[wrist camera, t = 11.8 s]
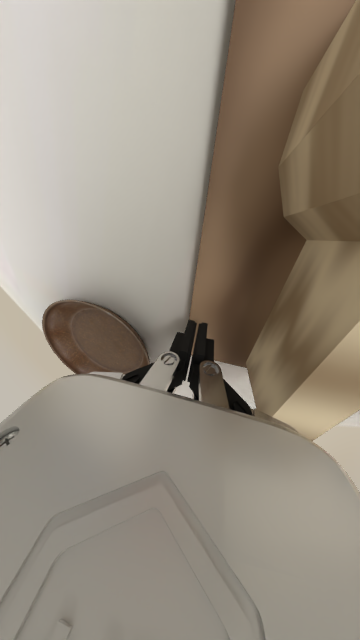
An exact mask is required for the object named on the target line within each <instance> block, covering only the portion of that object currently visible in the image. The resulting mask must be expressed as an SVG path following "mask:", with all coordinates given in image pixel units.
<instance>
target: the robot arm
mask: <svg viewBox="0 0 360 640" xmlns="http://www.w3.org/2000/svg"><path fill="white" fill-rule="evenodd" d="M196 326H197V323H195V321H193V320H189V321H188V324H187V327H186V330H185V333H180V332H177V334H176V336H175V339H174V341H173V343H172V346H171V348H170V351H167V352H164V353H162V354H161V355H160V356H159V357H158V359H157V360H156V362H154V363H151V364H149V365H146V366H144V367H141V368H139V369H136V370H133V371H131V372H129V373H127V374H123V373H115V372H91V373H88V374H75V375H74V374H73V375H68V376H64V377H61V378H59V379H57V380H55V381H53V382H52V383H50V384H48V385H47V386H45V387H44V388H43V389H41V390H40V391H39V392H37V393H36V394H35V395H33V396H32V397H31V398H30V399H28V400H27V401H26V402H25V403H23V404H22V405H21V406H20V407H19V408H18V409H16V410H15V411H14V412H13V413H12V414H11V415H9V416H8V417H7V418H6V419H5V420H3V421H2V422H1V423H0V640H360V492H359V490H358V489H357V487H356V486H355V484H354V482H353V481H352V480H351V478H350V477H349V476H348V474H347V473H346V471H345V470H344V469H343V468H342V466H341V465H340V464H339V463H338V462H337V461H336V460H335V459H334V458H333V457H332V456H331V455H330V454H329V453H327V452H326V451H325V450H324V449H322V448H321V447H319V446H318V445H317V444H315V443H314V442H312V441H311V440H309V439H307V438H306V437H304V436H303V435H301V434H299V433H298V432H297V431H296V430H295V429H294V428H293V427H291V426H290V425H288V424H286V423H284V422H282V421H280V420H278V419H276V418H273V417H271V416H269V415H267V414H265V413H263V412H261V411H259V410H257V409H254V410H253V409H251V408H250V407H249V406H248V404H247V403H246V402H245V401H244V400H243V399H242V398H241V397H240V396H239V395H238V394H237V393H236V392H235V390H234V389H233V388H232V387H231V386H230V385H229V384H228V383H227V382H226V381H225V380H224V379H223V377H222V372H221V369H220V367H219V365H218V364H216V363H215V362H214V340H213V339H208V338H206V337H207V327H208V323H203V322H202V323H201V324H200V323H199V326H198V331H197V336H196V340H195V345H194V350H193V355H192V360H191V366H190V371H189V376H188V381H187V382H190V386H189V387H190V388H191V390H192V391H193V399H191V398H188V397H184V396H180V395H177V394H174V392H175V389H176V387H177V386H179V385H182V381H183V380H184V381H185V380H186V375H187V371H188V366H189V361H190V357H191V352H192V347H193V342H194V337H195V331H196Z"/></svg>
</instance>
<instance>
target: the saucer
mask: <svg viewBox="0 0 360 640" xmlns="http://www.w3.org/2000/svg"><path fill="white" fill-rule="evenodd" d="M42 326H43V331H44V334H45V337H46V339H47V341H48V343H49V345H50V347H51V348H52V350H53V351H54V353H55V354H56V355H57V356H58V358H60V360H61V361H62V362H63V363H64V364H65V365H66V366H67V367H68V368H70V369H71V370H72V371H73V372H74V373H76V374H88V373H91V372H115V373H123V374H127V373H129V372H131V371H133V370H136V369H139V368H141V367H144V366H146V365H149V364H150V363H149V357H148V353H147V351H146V348H145V346H144V344H143V342H142V340H141V338H140V337H139V335H138V334H137V333H136V331H135V330H134V329H133V328H132V327H131V326H130V325H129V324H128V323H127V322H126V321H125V320H123V319H122V318H121V317H119V316H118V315H116V314H115V313H113V312H111V311H109V310H107V309H105V308H103V307H101V306H98V305H95V304H92V303H88V302H83V301H77V300H62V301H57V302H55V303H53V304H51V305H50V306H49V307H48V308H47V309H46V310H45V312H44V314H43V320H42Z"/></svg>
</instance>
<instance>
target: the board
mask: <svg viewBox="0 0 360 640" xmlns="http://www.w3.org/2000/svg"><path fill="white" fill-rule="evenodd" d="M355 1H356V0H236V2H235V9H234V16H233V23H232V30H231V36H230V43H229V50H228V57H227V64H226V70H225V77H224V84H223V91H222V98H221V105H220V111H219V118H218V125H217V132H216V139H215V145H214V152H213V159H212V166H211V173H210V180H209V186H208V193H207V200H206V207H205V214H204V220H203V227H202V234H201V241H200V248H199V255H198V261H197V268H196V275H195V282H194V289H193V295H192V302H191V309H190V316H189V320H193V321H195V323H197V326H196V331H195V337H194V342H193V347H192V352H191V355H193V350H194V345H195V340H196V336H197V331H198V326H199V323H200V324H201V323H202V322H203V323H208V327H207V337H206V338H208V339H213V340H214V360H215V361H219V362H224V363H228V364H232V365H236V366H241V367H245V368H247V366H246V361H247V359H248V357H249V355H250V353H251V351H252V349H253V347H254V345H255V343H256V341H257V339H258V337H259V335H260V333H261V331H262V329H263V327H264V325H265V323H266V321H267V319H268V317H269V315H270V313H271V311H272V309H273V307H274V305H275V303H276V301H277V299H278V297H279V295H280V293H281V291H282V289H283V287H284V285H285V283H286V281H287V279H288V277H289V275H290V273H291V271H292V269H293V267H294V265H295V263H296V261H297V259H298V257H299V255H300V253H301V250H302V248H303V246H304V244H305V242H306V239H305V238H304V237H303V236H302V235H301V234H300V233H299V232H298V231H297V230H296V229H295V228H294V227H293V226H292V225H291V224H290V223H289V222H288V221H287V220H286V219H285V218H284V216H283V206H282V197H281V188H280V179H279V169H278V167H279V164H280V160H281V157H282V154H283V151H284V148H285V145H286V142H287V139H288V136H289V133H290V130H291V127H292V124H293V120H294V117H295V114H296V111H297V108H298V105H299V102H300V99H301V96H302V93H303V90H304V88H305V87H306V85H307V83H308V82H309V80H310V78H311V76H312V75H313V73H314V71H315V70H316V68H317V66H318V64H319V63H320V61H321V59H322V58H323V56H324V54H325V53H326V51H327V49H328V47H329V46H330V44H331V42H332V41H333V39H334V37H335V35H336V34H337V32H338V30H339V29H340V27H341V25H342V23H343V22H344V20H345V18H346V17H347V15H348V13H349V12H350V10H351V8H352V6H353V5H354V3H355Z"/></svg>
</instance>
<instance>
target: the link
mask: <svg viewBox="0 0 360 640" xmlns="http://www.w3.org/2000/svg"><path fill="white" fill-rule="evenodd" d="M278 169H279V179H280V188H281V197H282V206H283V216H284V218H285V219H286V220H287V221H288V222H289V223H290V224H291V225H292V226H293V227H294V228H295V229H296V230H297V231H298V232H299V233H300V234H301V235H302V236H303V237H304V238H305V239H306V242H305V244H304V246H303V248H302V250H301V253H300V255H299V257H298V259H297V261H296V263H295V265H294V267H293V269H292V271H291V273H290V275H289V277H288V279H287V281H286V283H285V285H284V287H283V289H282V291H281V293H280V295H279V297H278V299H277V301H276V303H275V305H274V307H273V309H272V311H271V313H270V315H269V317H268V319H267V321H266V323H265V325H264V327H263V329H262V331H261V333H260V335H259V337H258V339H257V341H256V343H255V345H254V347H253V349H252V351H251V353H250V355H249V357H248V359H247V361H246V366H247V370H248V374H249V379H250V383H251V387H252V392H253V396H254V400H255V405H256V409H257V410H259V411H261V412H263V413H265V414H267V415H269V416H271V417H273V418H276V419H278V420H280V421H282V422H284V423H286V424H288V425H290V426H291V427H293V428H294V429H295V430H296V431H297V432H298V433H299V434H301V435H303V436H304V437H306V438H307V439H309V440H311V441H313V440H315V439H316V438H318V437H319V436H321V435H322V434H324V433H325V432H327V431H328V430H330V429H331V428H333V427H335V426H336V425H338V424H339V423H341V422H342V421H344V420H345V419H347V418H348V417H350V416H351V415H353V414H354V413H356V412H357V411H359V410H360V0H356V1H355V3H354V5H353V6H352V8H351V10H350V12H349V13H348V15H347V17H346V18H345V20H344V22H343V23H342V25H341V27H340V29H339V30H338V32H337V34H336V35H335V37H334V39H333V41H332V42H331V44H330V46H329V47H328V49H327V51H326V53H325V54H324V56H323V58H322V59H321V61H320V63H319V64H318V66H317V68H316V70H315V71H314V73H313V75H312V76H311V78H310V80H309V82H308V83H307V85H306V87H305V88H304V90H303V93H302V96H301V99H300V102H299V105H298V108H297V111H296V114H295V117H294V120H293V124H292V127H291V130H290V133H289V136H288V139H287V142H286V145H285V148H284V151H283V154H282V157H281V160H280V164H279V167H278Z"/></svg>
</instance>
